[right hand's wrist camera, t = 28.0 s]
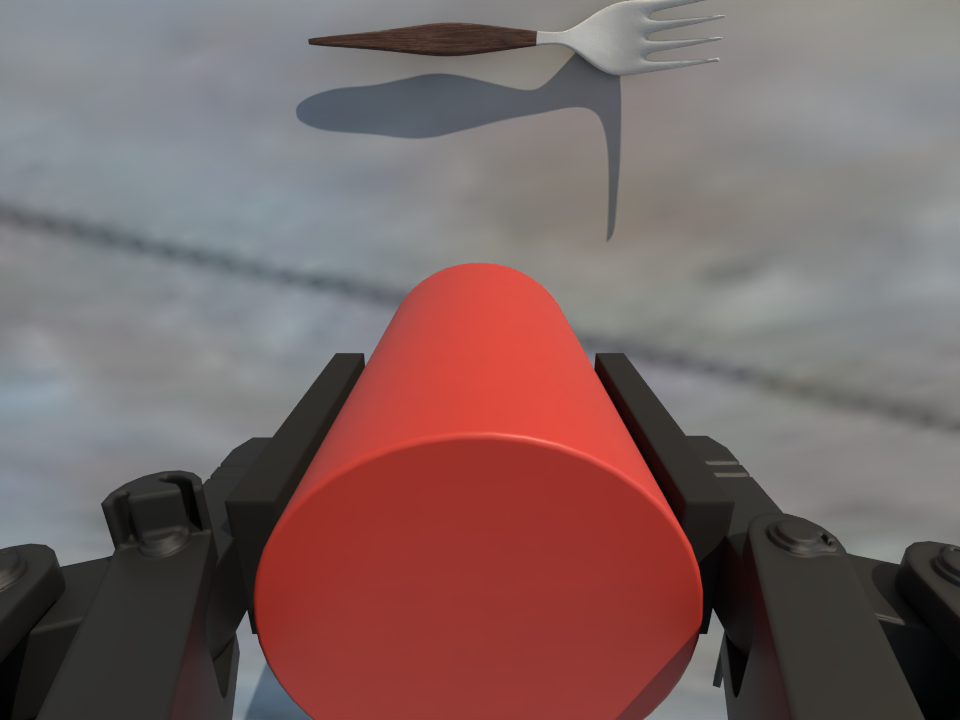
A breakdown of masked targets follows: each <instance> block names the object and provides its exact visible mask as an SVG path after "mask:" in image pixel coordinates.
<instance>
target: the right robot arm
mask: <svg viewBox="0 0 960 720" xmlns="http://www.w3.org/2000/svg"><path fill="white" fill-rule="evenodd" d="M364 368H365V361H364V353H336V354H335V355H334V357H333V358H332V359H331V361H330V362H329V363H328V365H327V366H326V367H325V369H324V370H323V371H322V373H321V374H320V375H319V377H318V378H317V379H316V381H315V382H314V383H313V384H312V386H311V387H310V388H309V390H308V391H307V392H306V394H305V395H304V396H303V398H302V399H301V400H300V402H299V403H298V404H297V406H296V407H295V408H294V410H293V411H292V412H291V414H290V415H289V416H288V418H287V419H286V420H285V422H284V423H283V424H282V426H281V427H280V428H279V430H278V431H277V432H276V434H275V435H274V436H273V438H251V439H250V440H248V441H247V442H245V443H243V444H242V445H240V446H238V447H237V448H235V449H234V450H232V452H231V453H230V454H229V455H228V456H227V457H226V459H225V460H224V461H223V462H222V463H221V467H218V468H217V469H216V470H215V471H214V473H213V474H212V475H211V478H210V479H208V480H207V481H206V482H205V483H204V484H203V485H202V481H201V478H200V477H198V476H197V475H195V474H194V473H191V472H186V471H165V472H159V473H155V474H151V475H147V476H143V477H141V478H138V479H136V480H133V481H131V482H129V483H126V484H124V485H123V486H121V487H120V488H118V489H117V490H115V491H113V492H112V493H110V494H109V496H108V497H107V498H106V499H105V500H104V501H103V502H102V503H101V506H102V509H103V512H104V515H105V518H106V521H107V525H108V528H109V531H110V534H111V537H112V540H113V544H114V547H115V551H114V553H113V556H109V557H106V558H101V559H96V560H91V561H87V562H82V563H77V564H72V565H68V566H63V567H60V565H59V563H58V560H57V557H56V554H55V552H54V550H52V549H51V548H49V547H48V546H47V545H40V544H25V545H19V546H13V547H8V548H4V549H0V720H232V716H233V707H234V698H235V690H236V681H237V672H238V664H239V655H240V651H239V645H238V639H237V635H236V630H237V628H238V626H239V624H240V622H241V620H242V618H243V616H244V615H245V613H246V611H247V610H248V615H249V620H250V625H251V629H252V634H257V631H256V626H255V622H254V602H253V594H254V586H255V578H256V571H257V568H258V565H259V562H260V558H261V555H262V552H263V549H264V547H265V545H266V543H267V541H268V539H269V537H270V535H271V533H272V531H273V530H274V528H275V526H276V524H277V522H278V520H279V519H280V517H281V515H282V513H283V512H284V510H285V508H286V506H287V505H288V503H289V501H290V499H291V497H292V496H293V494H294V492H295V490H296V489H297V487H298V485H299V483H300V481H301V480H302V478H303V476H304V474H305V473H306V471H307V469H308V467H309V466H310V464H311V462H312V460H313V458H314V457H315V455H316V453H317V451H318V450H319V448H320V446H321V444H322V442H323V441H324V439H325V437H326V435H327V434H328V432H329V430H330V428H331V427H332V425H333V423H334V421H335V419H336V418H337V416H338V414H339V412H340V411H341V409H342V407H343V405H344V404H345V402H346V400H347V398H348V396H349V395H350V393H351V391H352V389H353V388H354V386H355V384H356V382H357V380H358V379H359V377H360V375H361V373H362V372H363V370H364ZM594 370H595V372H596V374H597V376H598V378H599V379H600V381H601V383H602V385H603V387H604V388H605V390H606V392H607V394H608V396H609V398H610V399H611V401H612V403H613V405H614V407H615V408H616V410H617V412H618V414H619V416H620V417H621V419H622V421H623V423H624V425H625V426H626V428H627V430H628V432H629V434H630V436H631V437H632V439H633V441H634V443H635V445H636V446H637V448H638V450H639V452H640V454H641V455H642V457H643V459H644V461H645V463H646V465H647V466H648V468H649V470H650V472H651V474H652V475H653V477H654V479H655V481H656V483H657V484H658V486H659V488H660V490H661V492H662V493H663V495H664V497H665V499H666V501H667V503H668V504H669V506H670V508H671V510H672V512H673V513H674V515H675V517H676V519H677V521H678V522H679V524H680V526H681V528H682V530H683V532H684V533H685V535H686V537H687V539H688V541H689V542H690V544H691V546H692V549H693V552H694V555H695V558H696V561H697V564H698V566H699V571H700V577H701V583H702V589H703V614H702V622H701V628H700V633H699V634H707V632H708V628H709V623H710V618H711V613H712V609H714V611H715V613H716V614H717V616H718V618H719V620H720V622H721V624H722V626H723V628H724V630H725V631H724V635H723V639H722V644H721V648H720V653H719V657H718V661H717V666H716V670H715V675H714V681H713V686H716V687H719V688H720V686H721V681H722V677H723V680H724V688H725V697H726V705H727V714H728V720H960V547H958V546H955V545H951V544H944V543H938V542H931V541H927V542H916V543H913V544H912V545H910V546H909V547H907V548H906V550H905V553H904V556H903V558H902V561H901V564H900V565H899V564H894V563H889V562H884V561H880V560H875V559H870V558H865V557H860V556H856V555H852V554H848V553H846V550H845V549H844V547H843V546H842V545H841V543H840V542H839V541H838V539H837V538H836V537H835V536H833V535H832V534H831V533H829V532H828V531H827V530H825V529H824V528H823V527H821V526H819V525H817V524H815V523H812V522H810V521H808V520H806V519H804V518H800V517H796V516H793V515H789V514H784V513H783V512H782V511H781V510H780V509H779V508H778V506H777V505H776V504H775V503H774V502H773V501H772V500H771V498H770V497H769V496H768V495H767V494H766V493H765V491H764V490H763V489H762V488H761V487H760V486H759V485H758V483H757V482H756V481H755V480H754V479H753V478H752V477H750V476H749V473H748V472H747V471H746V470H745V468H744V467H743V466H742V465H739V461H738V460H737V459H736V458H735V457H734V456H733V455H732V453H731V452H730V451H729V450H728V449H727V448H726V447H724V446H723V445H721V444H719V443H718V442H716V441H715V440H713V439H711V438H710V437H708V436H686V435H685V434H684V433H683V431H682V430H681V429H680V427H679V426H678V425H677V423H676V422H675V421H674V419H673V418H672V417H671V415H670V414H669V413H668V411H667V410H666V409H665V408H664V406H663V405H662V404H661V402H660V401H659V400H658V398H657V397H656V396H655V394H654V393H653V392H652V390H651V389H650V388H649V386H648V385H647V384H646V382H645V381H644V380H643V378H642V377H641V376H640V374H639V373H638V372H637V370H636V369H635V368H634V366H633V365H632V364H631V362H630V361H629V360H628V358H627V357H626V356H625V354H624V353H596V357H595V368H594Z"/></svg>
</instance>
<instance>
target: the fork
mask: <svg viewBox="0 0 960 720" xmlns="http://www.w3.org/2000/svg"><path fill="white" fill-rule="evenodd" d="M699 1H704V0H633V1H625V2H620V3H616V4H613V5H611V6H608V7H606V8H604V9H602V10H600V11H599V12H597V13H595V14H594V15H592V16H591V17H589V18H588V19H586V20H585V21H583V22H582V23H580V24H579V25H577V26H575V27H574V28H572V29H570V30H567V31H564V32H539V31H530V30H522V29H514V28H506V27H498V26H489V25H480V24H470V23H437V24H427V25H419V26H412V27H405V28H398V29H391V30H383V31H375V32H366V33H356V34H347V35H337V36H328V37H319V38H312V39H308V41H309V44H311V45H319V46H331V47H345V48H358V49H371V50H382V51H393V52H402V53H411V54H420V55H431V56H463V55H473V54H481V53H488V52H496V51H503V50H510V49H517V48H524V47H531V46H539V45H548V44H558V45H563V46H566V47H568V48H570V49H572V50H573V51H575V52H576V53H578V54H579V55H580V56H581V57H583V58H584V59H585V60H587V61H588V62H589V63H590V64H592V65H593V66H595V67H596V68H598V69H599V70H601V71H603V72H606V73H608V74H612V75H620V76H624V75H634V74H640V73H646V72H653V71H660V70H667V69H673V68H680V67H686V66H692V65H698V64H703V63H709V62H718V61H719V58H715V59H700V60H676V61H648V60H646V59H645V57H646V55H647V54H649V53H652V52H656V51H661V50H667V49H673V48H679V47H684V46H690V45H695V44H701V43H706V42H711V41H716V40H721V39H722V37H716V38H700V39H683V40H668V41H651V40H648V39H647V36H648V35H649V34H650V33H653V32H656V31H660V30H666V29H671V28H676V27H681V26H686V25H691V24H696V23H701V22H706V21H711V20H715V19H720V18H724V17H725V15H719V16H708V17H695V18H682V19H670V20H652V19H650V18H649V15H650V14H651V13H652V12H655V11H658V10H662V9H667V8H672V7H677V6H681V5H686V4H691V3H695V2H699Z"/></svg>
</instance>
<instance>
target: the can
mask: <svg viewBox="0 0 960 720" xmlns="http://www.w3.org/2000/svg"><path fill="white" fill-rule="evenodd" d="M253 602H254V622H255V626H256V631H257V635H258V639H259V644H260V646H261V649H262V651H263V654H264V656H265V658H266V661H267V663H268V665H269V667H270V669H271V670H272V672H273V674H274V675H275V677H276V679H277V680H278V682H279V684H280V685H281V686H282V687H283V689H284V690H285V691H286V692H287V694H288V695H289V696H290V697H291V699H292V700H293V701H294V702H295V703H296V704H297V705H298V706H299V707H300V708H301V709H302V710H303V711H304V712H305V713H306V714H307V715H309V716H310V717H311V718H312V719H313V720H643V719H644V718H646V717H647V716H648V715H649V714H651V713H652V712H653V711H654V710H655V709H656V708H657V707H658V706H659V704H660V703H661V702H662V701H663V700H664V699H665V698H666V697H667V696H668V695H669V693H670V692H671V691H672V689H673V688H674V687H675V685H676V684H677V683H678V681H679V680H680V679H681V677H682V675H683V673H684V671H685V670H686V668H687V666H688V664H689V662H690V660H691V658H692V655H693V652H694V650H695V647H696V644H697V642H698V638H699V633H700V628H701V622H702V614H703V589H702V583H701V577H700V571H699V566H698V564H697V561H696V558H695V555H694V552H693V549H692V546H691V544H690V542H689V541H688V539H687V537H686V535H685V533H684V532H683V530H682V528H681V526H680V524H679V522H678V521H677V519H676V517H675V515H674V513H673V512H672V510H671V508H670V506H669V504H668V503H667V501H666V499H665V497H664V495H663V493H662V492H661V490H660V488H659V486H658V484H657V483H656V481H655V479H654V477H653V475H652V474H651V472H650V470H649V468H648V466H647V465H646V463H645V461H644V459H643V457H642V455H641V454H640V452H639V450H638V448H637V446H636V445H635V443H634V441H633V439H632V437H631V436H630V434H629V432H628V430H627V428H626V426H625V425H624V423H623V421H622V419H621V417H620V416H619V414H618V412H617V410H616V408H615V407H614V405H613V403H612V401H611V399H610V398H609V396H608V394H607V392H606V390H605V388H604V387H603V385H602V383H601V381H600V379H599V378H598V376H597V374H596V372H595V370H594V369H593V367H592V365H591V363H590V361H589V359H588V358H587V356H586V354H585V352H584V350H583V349H582V347H581V345H580V343H579V341H578V340H577V338H576V336H575V334H574V332H573V330H572V329H571V327H570V325H569V323H568V321H567V320H566V318H565V316H564V314H563V312H562V311H561V309H560V307H559V305H558V304H557V302H556V301H555V300H554V298H553V297H552V296H551V294H550V293H549V292H548V291H547V290H546V289H545V288H544V287H543V286H541V285H540V284H539V283H537V282H536V281H535V280H534V279H532V278H530V277H529V276H527V275H525V274H523V273H522V272H519V271H517V270H514V269H512V268H509V267H505V266H501V265H497V264H489V263H469V264H462V265H457V266H453V267H450V268H446V269H444V270H442V271H439V272H437V273H435V274H433V275H432V276H430V277H428V278H427V279H425V280H424V281H422V282H421V283H420V284H419V285H417V286H416V287H415V288H414V289H413V290H412V291H411V292H410V293H409V294H408V295H407V296H406V298H405V299H404V300H403V302H402V303H401V305H400V306H399V308H398V310H397V311H396V313H395V315H394V317H393V318H392V320H391V322H390V324H389V326H388V327H387V329H386V331H385V333H384V334H383V336H382V338H381V340H380V341H379V343H378V345H377V347H376V349H375V350H374V352H373V354H372V356H371V357H370V359H369V361H368V363H367V365H366V366H365V368H364V370H363V372H362V373H361V375H360V377H359V379H358V380H357V382H356V384H355V386H354V388H353V389H352V391H351V393H350V395H349V396H348V398H347V400H346V402H345V404H344V405H343V407H342V409H341V411H340V412H339V414H338V416H337V418H336V419H335V421H334V423H333V425H332V427H331V428H330V430H329V432H328V434H327V435H326V437H325V439H324V441H323V442H322V444H321V446H320V448H319V450H318V451H317V453H316V455H315V457H314V458H313V460H312V462H311V464H310V466H309V467H308V469H307V471H306V473H305V474H304V476H303V478H302V480H301V481H300V483H299V485H298V487H297V489H296V490H295V492H294V494H293V496H292V497H291V499H290V501H289V503H288V505H287V506H286V508H285V510H284V512H283V513H282V515H281V517H280V519H279V520H278V522H277V524H276V526H275V528H274V530H273V531H272V533H271V535H270V537H269V539H268V541H267V543H266V545H265V547H264V549H263V552H262V555H261V558H260V562H259V565H258V568H257V571H256V578H255V586H254V594H253Z"/></svg>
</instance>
